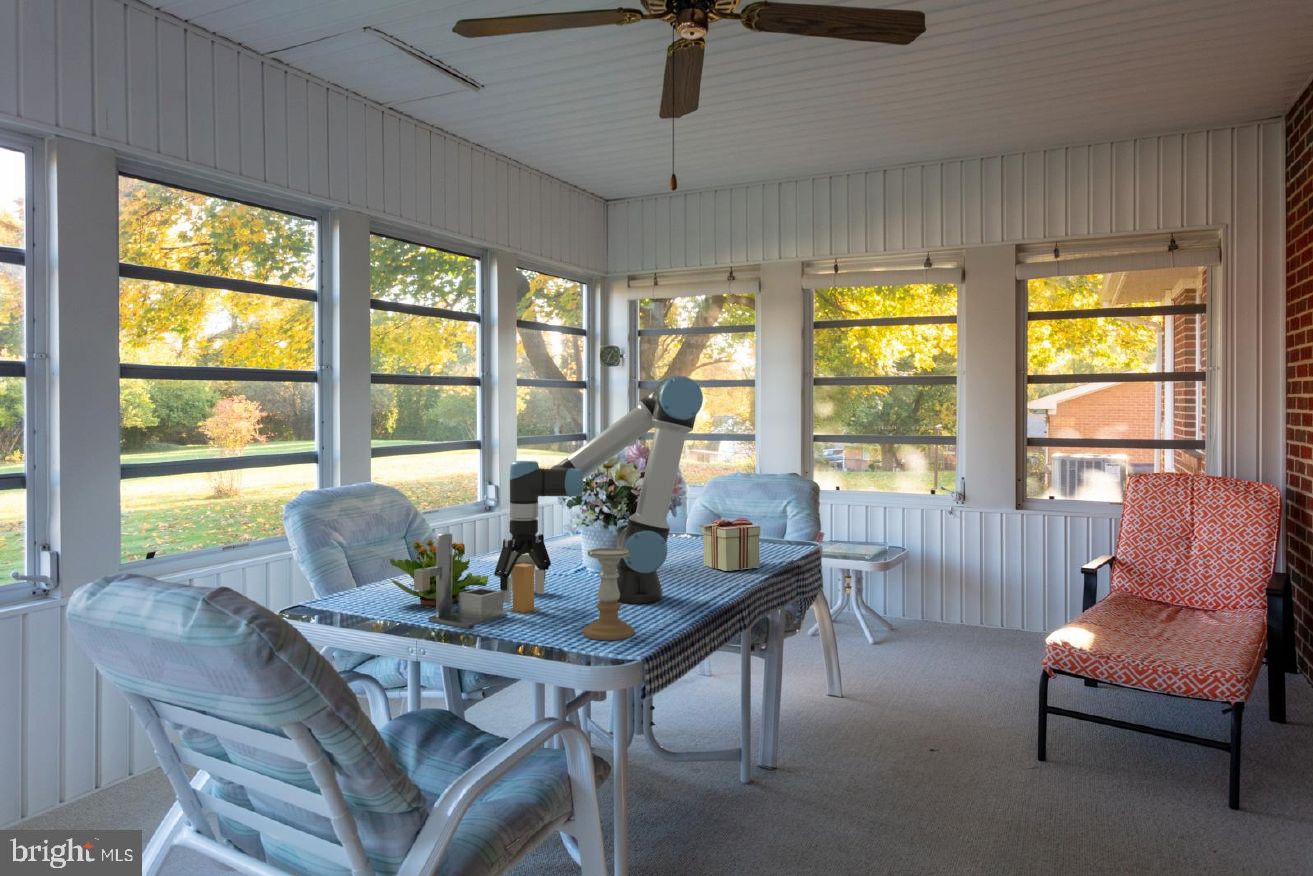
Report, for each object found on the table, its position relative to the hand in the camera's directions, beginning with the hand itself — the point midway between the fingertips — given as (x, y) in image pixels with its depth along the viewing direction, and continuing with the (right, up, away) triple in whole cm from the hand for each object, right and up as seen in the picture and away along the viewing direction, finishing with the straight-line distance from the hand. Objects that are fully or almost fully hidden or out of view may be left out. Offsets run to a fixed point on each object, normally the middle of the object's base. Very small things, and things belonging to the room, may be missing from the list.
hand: (523, 597), depth 223 cm
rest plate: (0, -4, 0) cm, 4 cm away
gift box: (+61, -3, +70) cm, 92 cm away
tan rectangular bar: (0, -3, 0) cm, 3 cm away
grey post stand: (-14, -4, -11) cm, 18 cm away
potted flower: (-26, -4, +11) cm, 29 cm away
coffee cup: (-4, -3, +24) cm, 24 cm away
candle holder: (+24, -5, -22) cm, 33 cm away
